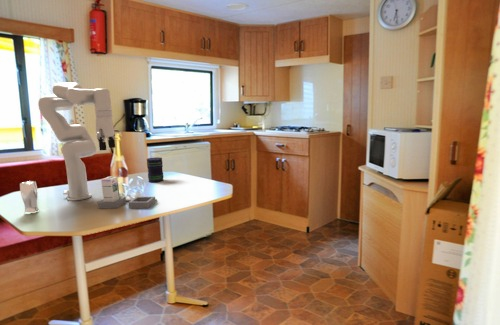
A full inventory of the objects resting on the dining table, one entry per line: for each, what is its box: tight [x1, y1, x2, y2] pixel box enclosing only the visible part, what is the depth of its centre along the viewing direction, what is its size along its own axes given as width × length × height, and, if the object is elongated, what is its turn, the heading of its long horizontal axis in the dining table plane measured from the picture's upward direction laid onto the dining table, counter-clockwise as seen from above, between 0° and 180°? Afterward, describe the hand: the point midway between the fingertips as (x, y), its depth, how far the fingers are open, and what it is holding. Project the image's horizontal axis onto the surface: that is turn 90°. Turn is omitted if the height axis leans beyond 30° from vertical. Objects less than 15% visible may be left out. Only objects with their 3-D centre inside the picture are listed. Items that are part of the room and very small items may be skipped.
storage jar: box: [146, 157, 164, 184], centre depth 232 cm, size 10×10×15 cm
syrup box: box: [100, 175, 121, 202], centre depth 180 cm, size 6×6×14 cm
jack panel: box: [97, 196, 158, 209], centre depth 182 cm, size 26×12×3 cm, turn 85°
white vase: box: [19, 180, 40, 213], centre depth 172 cm, size 7×7×15 cm
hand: (107, 148), depth 177 cm, fingers open, 9 cm apart
